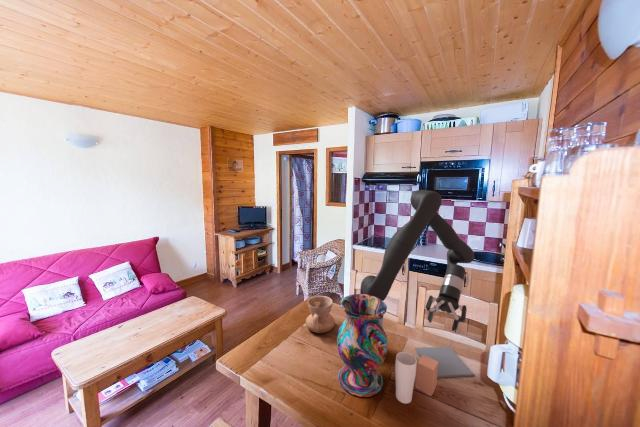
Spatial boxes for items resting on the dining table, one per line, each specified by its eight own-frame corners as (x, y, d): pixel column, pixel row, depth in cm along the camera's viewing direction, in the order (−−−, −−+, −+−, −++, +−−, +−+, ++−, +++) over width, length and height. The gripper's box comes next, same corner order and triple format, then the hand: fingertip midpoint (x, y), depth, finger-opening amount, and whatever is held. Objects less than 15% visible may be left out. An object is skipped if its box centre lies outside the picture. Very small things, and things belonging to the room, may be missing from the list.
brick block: (431, 396, 88) (433, 370, 86) (415, 387, 91) (417, 362, 90) (436, 386, 92) (438, 361, 90) (421, 378, 95) (422, 354, 94)
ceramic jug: (312, 316, 137) (311, 291, 135) (338, 320, 133) (338, 295, 131) (299, 336, 120) (299, 308, 118) (329, 342, 116) (329, 313, 114)
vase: (371, 410, 82) (376, 324, 78) (326, 382, 93) (327, 305, 89) (393, 375, 97) (397, 302, 92) (351, 355, 108) (353, 288, 103)
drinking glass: (390, 390, 90) (392, 351, 88) (408, 389, 91) (411, 351, 88) (397, 407, 83) (400, 366, 81) (417, 406, 84) (420, 365, 82)
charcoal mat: (433, 377, 96) (433, 375, 96) (414, 349, 112) (415, 347, 112) (473, 376, 97) (473, 374, 97) (449, 348, 113) (449, 346, 113)
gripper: (431, 279, 107) (420, 316, 100) (469, 289, 98) (460, 330, 91) (434, 287, 112) (424, 322, 105) (471, 297, 103) (462, 336, 96)
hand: (441, 326), depth 98 cm, fingers open, 8 cm apart
